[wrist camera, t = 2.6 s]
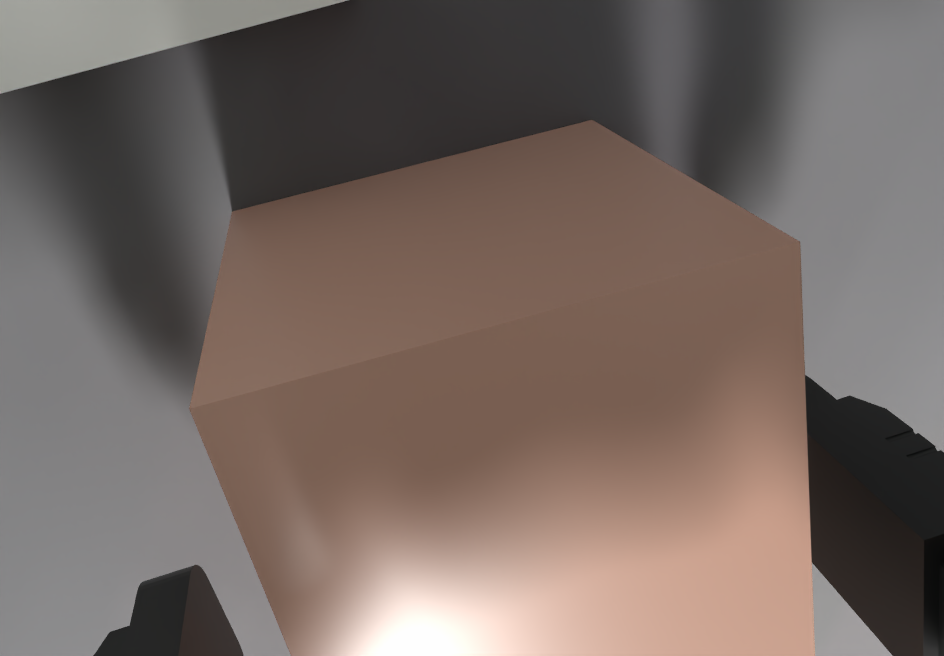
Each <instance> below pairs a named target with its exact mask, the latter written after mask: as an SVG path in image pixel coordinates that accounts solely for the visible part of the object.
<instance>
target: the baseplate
mask: <svg viewBox="0 0 944 656" xmlns="http://www.w3.org/2000/svg"><path fill="white" fill-rule="evenodd" d="M344 1H348V0H0V94H1V93H5V92H9V91H12V90H16V89H20V88H24V87H27V86H31V85H35V84H38V83H42V82H46V81H50V80H53V79H57V78H61V77H65V76H68V75H72V74H76V73H79V72H83V71H87V70H91V69H94V68H98V67H102V66H106V65H109V64H113V63H117V62H120V61H124V60H128V59H132V58H135V57H139V56H143V55H147V54H150V53H154V52H158V51H161V50H165V49H169V48H173V47H176V46H180V45H184V44H187V43H191V42H195V41H199V40H202V39H206V38H210V37H214V36H217V35H221V34H225V33H228V32H232V31H236V30H240V29H243V28H247V27H251V26H255V25H258V24H262V23H266V22H269V21H273V20H277V19H281V18H284V17H288V16H292V15H296V14H299V13H303V12H307V11H310V10H314V9H318V8H322V7H325V6H329V5H333V4H337V3H340V2H344Z"/></svg>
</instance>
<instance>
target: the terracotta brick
mask: <svg viewBox="0 0 944 656" xmlns="http://www.w3.org/2000/svg"><path fill="white" fill-rule="evenodd" d="M189 409H190V412H191V414H192V417H193V419H194V421H195V424H196V426H197V429H198V431H199V434H200V436H201V438H202V441H203V443H204V446H205V448H206V450H207V453H208V455H209V458H210V460H211V463H212V465H213V467H214V470H215V472H216V475H217V477H218V480H219V482H220V484H221V487H222V489H223V492H224V494H225V497H226V499H227V501H228V504H229V506H230V509H231V511H232V514H233V516H234V518H235V521H236V523H237V526H238V528H239V530H240V533H241V535H242V538H243V540H244V543H245V545H246V547H247V550H248V552H249V555H250V557H251V560H252V562H253V564H254V567H255V569H256V572H257V574H258V577H259V579H260V581H261V584H262V586H263V589H264V591H265V594H266V596H267V598H268V601H269V603H270V606H271V608H272V610H273V613H274V615H275V618H276V620H277V623H278V625H279V627H280V630H281V632H282V635H283V637H284V640H285V642H286V644H287V647H288V649H289V652H290V654H291V656H815V643H814V615H813V587H812V559H811V531H810V504H809V476H808V448H807V420H806V392H805V365H804V337H803V309H802V281H801V253H800V242H799V241H798V240H796V239H794V238H793V237H791V236H789V235H787V234H786V233H784V232H782V231H781V230H779V229H777V228H776V227H774V226H772V225H770V224H769V223H767V222H765V221H764V220H762V219H760V218H759V217H757V216H755V215H753V214H752V213H750V212H748V211H747V210H745V209H743V208H741V207H740V206H738V205H736V204H735V203H733V202H731V201H730V200H728V199H726V198H724V197H723V196H721V195H719V194H718V193H716V192H714V191H713V190H711V189H709V188H707V187H706V186H704V185H702V184H701V183H699V182H697V181H696V180H694V179H692V178H690V177H689V176H687V175H685V174H684V173H682V172H680V171H679V170H677V169H675V168H673V167H672V166H670V165H668V164H667V163H665V162H663V161H662V160H660V159H658V158H656V157H655V156H653V155H651V154H650V153H648V152H646V151H644V150H643V149H641V148H639V147H638V146H636V145H634V144H633V143H631V142H629V141H627V140H626V139H624V138H622V137H621V136H619V135H617V134H616V133H614V132H612V131H610V130H609V129H607V128H605V127H604V126H602V125H600V124H599V123H597V122H595V121H593V120H589V121H585V122H581V123H577V124H574V125H570V126H566V127H562V128H558V129H554V130H550V131H546V132H542V133H538V134H534V135H530V136H526V137H523V138H519V139H515V140H511V141H507V142H503V143H499V144H495V145H491V146H487V147H483V148H479V149H475V150H472V151H468V152H464V153H460V154H456V155H452V156H448V157H444V158H440V159H436V160H432V161H428V162H424V163H420V164H417V165H413V166H409V167H405V168H401V169H397V170H393V171H389V172H385V173H381V174H377V175H373V176H369V177H366V178H362V179H358V180H354V181H350V182H346V183H342V184H338V185H334V186H330V187H326V188H322V189H318V190H315V191H311V192H307V193H303V194H299V195H295V196H291V197H287V198H283V199H279V200H275V201H271V202H267V203H264V204H260V205H256V206H252V207H248V208H244V209H240V210H236V211H232V215H231V220H230V224H229V229H228V233H227V238H226V243H225V247H224V252H223V256H222V261H221V266H220V270H219V275H218V279H217V284H216V289H215V293H214V298H213V302H212V307H211V312H210V316H209V321H208V325H207V330H206V334H205V339H204V344H203V348H202V353H201V357H200V362H199V367H198V371H197V376H196V380H195V385H194V390H193V394H192V399H191V403H190V408H189Z"/></svg>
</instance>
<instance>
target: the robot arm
mask: <svg viewBox="0 0 944 656" xmlns="http://www.w3.org/2000/svg"><path fill="white" fill-rule="evenodd" d="M805 392H806V420H807V448H808V476H809V504H810V531H811V559H812V563H813V564H814V565H815V566H816V568H817V569H818V570H819V571H820V572H821V573H822V574H823V576H824V577H825V578H826V579H827V580H828V581H829V583H830V584H831V585H832V586H833V587H834V588H835V589H836V591H837V592H838V593H839V594H840V595H841V596H842V597H843V599H844V600H845V601H846V602H847V603H848V604H849V606H850V607H851V608H852V609H853V610H854V611H855V612H856V614H857V615H858V616H859V617H860V618H861V619H862V621H863V622H864V623H865V624H866V625H867V626H868V627H869V629H870V630H871V631H872V632H873V633H874V634H875V636H876V637H877V638H878V639H879V640H880V641H881V642H882V644H883V645H884V646H885V647H886V648H887V649H888V651H889V652H890V653H891V654H892V655H893V656H944V452H942V451H941V450H940V451H937V450H936V448H935V446H934V445H933V444H932V443H931V442H929V441H928V440H927V439H925V438H924V437H923V436H921V435H920V434H919V433H917V434H915V433H914V432H913V429H912V428H911V427H909V426H908V425H907V424H905V423H904V422H903V421H901V420H900V419H899V418H898V417H896V416H895V415H894V414H892V413H891V412H890V411H888V410H887V409H885V408H882V407H880V406H877V405H874V404H871V403H868V402H866V401H863V400H860V399H857V398H855V397H852V396H847V397H844V398H841V399H838V400H836V399H835V398H834V397H833V396H832V395H830V394H829V393H828V392H827V391H825V390H824V389H823V388H822V387H820V386H819V385H818V384H817V383H815V382H814V381H813V380H812V379H810V378H809V377H808V376H806V375H805ZM94 656H243V652H242V649H241V647H240V644H239V642H238V640H237V638H236V636H235V634H234V632H233V629H232V627H231V625H230V623H229V621H228V619H227V617H226V615H225V613H224V611H223V609H222V607H221V605H220V603H219V600H218V598H217V596H216V594H215V592H214V590H213V588H212V586H211V584H210V582H209V580H208V578H207V576H206V574H205V572H204V571H203V569H202V568H201V567H200V566H198V565H194V566H191V567H188V568H185V569H181V570H178V571H175V572H172V573H169V574H166V575H163V576H159V577H156V578H153V579H150V580H147V581H144V582H142V583H141V584H140V586H139V588H138V591H137V595H136V600H135V604H134V609H133V613H132V618H131V622H130V626H127V627H124V628H121V629H118V630H115V631H112V632H110V633H109V634H108V635H107V637H106V638H105V640H104V641H103V643H102V644H101V646H100V647H99V649H98V650H97V652H96V653H95V654H94Z"/></svg>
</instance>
